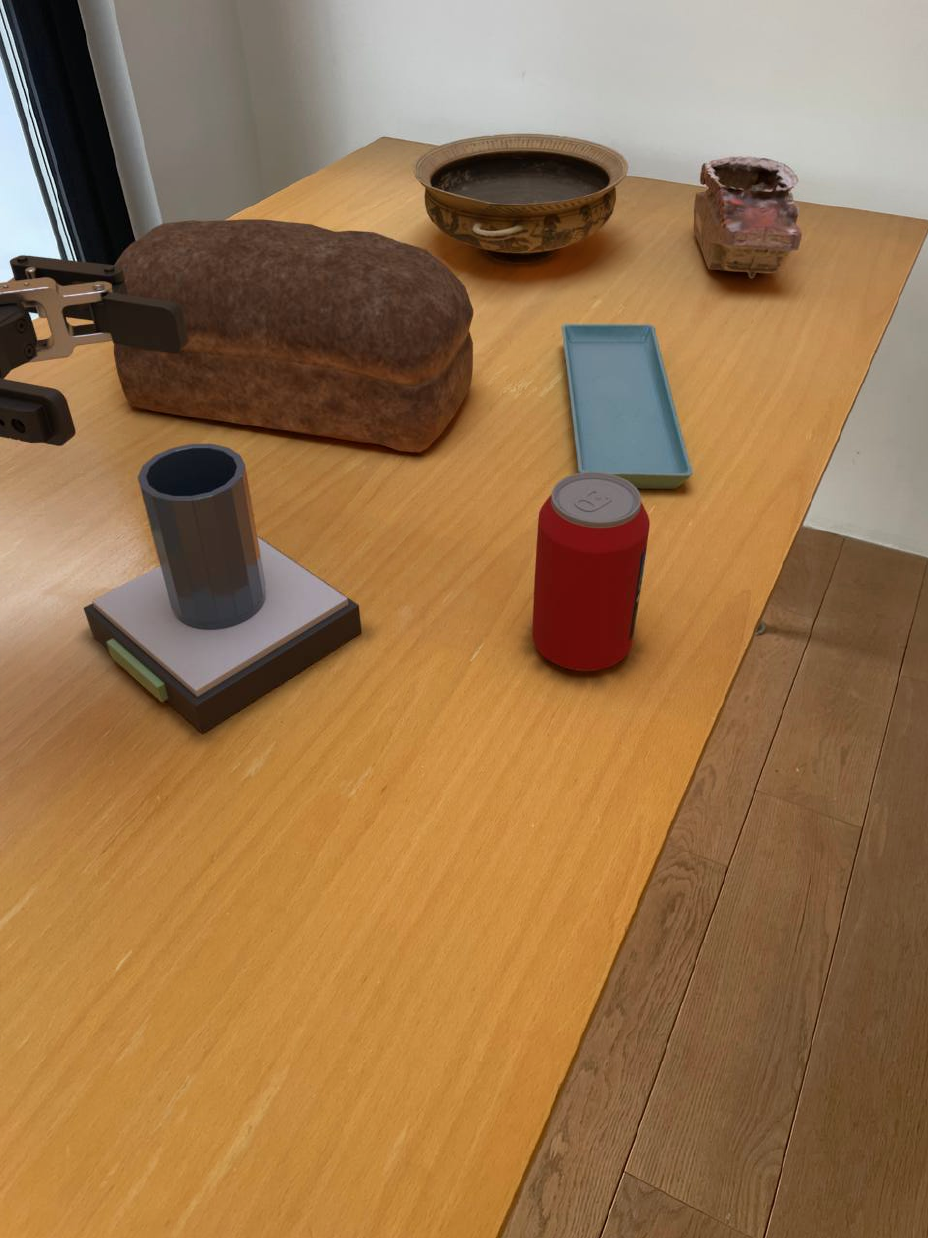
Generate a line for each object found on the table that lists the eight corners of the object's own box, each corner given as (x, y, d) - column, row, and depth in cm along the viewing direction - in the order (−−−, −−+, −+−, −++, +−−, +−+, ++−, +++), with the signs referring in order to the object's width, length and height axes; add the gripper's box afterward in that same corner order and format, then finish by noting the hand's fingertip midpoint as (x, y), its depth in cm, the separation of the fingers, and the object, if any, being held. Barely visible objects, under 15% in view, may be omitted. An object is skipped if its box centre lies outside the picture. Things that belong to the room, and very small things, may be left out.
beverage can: (652, 645, 68) (676, 497, 60) (585, 695, 64) (602, 544, 56) (577, 598, 71) (590, 453, 64) (510, 643, 68) (515, 494, 60)
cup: (207, 643, 63) (176, 513, 57) (152, 599, 67) (118, 471, 60) (285, 598, 67) (265, 470, 60) (229, 558, 70) (204, 432, 63)
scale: (195, 738, 62) (186, 703, 60) (85, 639, 68) (73, 604, 66) (361, 632, 69) (358, 598, 67) (247, 551, 76) (241, 518, 74)
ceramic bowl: (451, 200, 133) (450, 118, 126) (633, 215, 128) (642, 131, 122) (383, 293, 111) (377, 199, 104) (599, 315, 106) (608, 219, 100)
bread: (439, 466, 84) (435, 282, 74) (105, 410, 92) (58, 235, 81) (487, 385, 95) (490, 214, 84) (184, 340, 102) (152, 177, 92)
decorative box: (799, 236, 123) (817, 152, 116) (818, 306, 108) (840, 214, 101) (689, 231, 124) (701, 147, 118) (693, 299, 109) (707, 208, 103)
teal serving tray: (690, 496, 81) (695, 469, 79) (576, 495, 81) (579, 469, 80) (651, 347, 101) (654, 323, 99) (559, 346, 101) (561, 323, 99)
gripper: (-354, 300, 39) (-12, 363, 35) (-90, 185, 49) (199, 223, 45) (-262, 465, 44) (48, 536, 40) (-40, 329, 54) (226, 376, 50)
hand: (128, 370), depth 43 cm, fingers open, 8 cm apart
